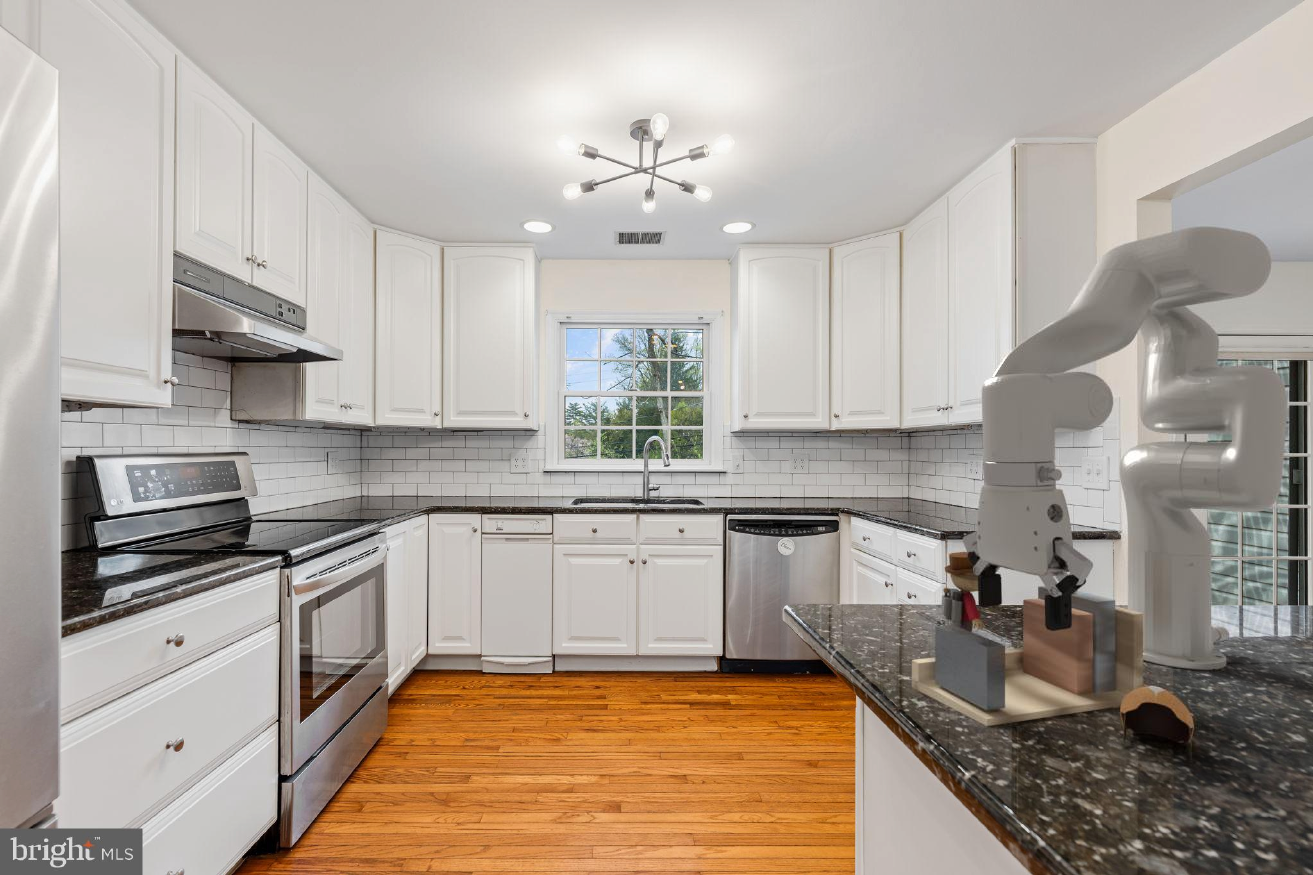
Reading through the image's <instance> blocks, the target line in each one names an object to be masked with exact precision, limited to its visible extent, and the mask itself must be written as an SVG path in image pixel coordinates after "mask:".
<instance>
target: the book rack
mask: <svg viewBox="0 0 1313 875" xmlns="http://www.w3.org/2000/svg"><path fill="white" fill-rule="evenodd" d="M1049 594H1050V593H1049V591H1048V589H1047V588H1046V586H1045V585H1041V586H1038V587H1037V596H1038V597H1037V598H1028V599H1027V598H1025V599H1023V600H1022V602H1023V603H1022V605H1023V607H1022V608H1023V610H1022V614H1023V615H1022V616H1023V617H1022V619H1023V620H1022V621H1023V622H1022V623H1023V625H1022V626H1023V627H1022V633H1023V634H1022V635H1023V638H1022V639H1023V640H1022V641H1023V642H1022V643H1023V645H1022V647H1017V648H1016V647H1015V648H1014V647H1013V648H1005V708H1002V709H995V710H988V711H987V710H985V709H983V708H981V707H979V706H977V705H975V704H974V703H972V702H970V701H968V700H966V699H964V698H962V697H960V696H959V695H957V694H955V693H953V692H951V691H949V690H947V689H945V688H944V687H942V686H940V685H938V684H936V683H935V656H934V657H927V658H919V659H917V658H916V659H912V660H911V688H913V689H914V690H916V691H919V692H920V693H922V694H924V695H926V696H927V697H930V698H932V699H934V700H936V701H938V702H940V703H942V704H943V705H945V706H947V707H949V708H952V710H953V709H954V710H955V711H956V712H959V713H961V714H963V715H964V716H966V717H968V718H970V719H972V720H974V721H976V722H978V723H980V724H982V725H984V726H986V727H990V726H995V725H996V726H997V725H1002V724H1003V725H1005V724H1009V723H1018V722H1023V721H1024V722H1025V721H1029V720H1030V721H1031V720H1037V719H1042V718H1050V717H1058V716H1063V715H1070V714H1076V713H1082V712H1089V711H1097V710H1103V709H1108V708H1109V709H1111V708H1116V707H1121V703H1122V700H1123V698H1124V697H1125V696H1126V695H1127V694H1128V693H1129V692H1131V691H1133V690H1135V689H1138V688H1141V687H1144V660H1143V613H1140V612H1136V611H1132V610H1128V608H1124V607H1120V606H1116V599H1112V598H1109V597H1105V596H1099V595H1096V594H1092V593H1088V592H1084V591H1081V590H1077V593H1076V594H1073V595H1071V601H1072V626H1071V628H1068V629H1062V630H1056V631H1051V630H1048V629H1047V628H1046V627H1045V595H1049Z"/></svg>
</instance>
